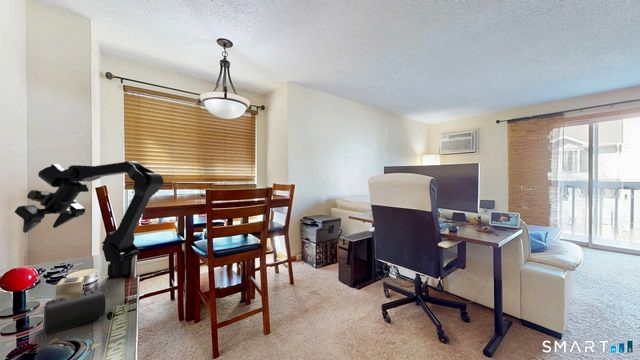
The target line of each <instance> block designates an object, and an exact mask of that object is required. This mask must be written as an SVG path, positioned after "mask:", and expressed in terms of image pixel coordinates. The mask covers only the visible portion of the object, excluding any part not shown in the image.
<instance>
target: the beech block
mask: <svg viewBox="0 0 640 360" xmlns="http://www.w3.org/2000/svg"><path fill="white" fill-rule="evenodd" d="M76 277H77V278H76ZM83 284H84V277H80V276H75V277H74V276H71V277H64V278H61V279H60V280H59V282H58V283H57V284H56V286H55V299H59V298H64V297H65V299H66V300H70V299H74V298H78V297H82V296H81V293H84V292H85V289H84V290H83ZM84 285H85V284H84Z"/></svg>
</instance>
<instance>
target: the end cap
mask: <svg viewBox="0 0 640 360" xmlns="http://www.w3.org/2000/svg"><path fill="white" fill-rule="evenodd" d="M106 302H107V300H106V295H105V292H104V291H98V290H96V289H95V290H94V289H93V290H90V291H84V293H81V297H78V298H74V299H70V300H66V299H65V297H64V298H59V299H56V298H55V299H53V298H52V300H48V301H47V302H46V303H45V306H44V307H43V308H44V309H43V310H44V311H43V323H42V325H43V326H42V333H43V334H44V335H46V336H49V335H52V334H54V333H58V332H61V331H64V330H67V329H71V328H74V327H77V326H81V325H83V324H87V323H91V322H94V321H97V320H100V318H102V317H103V316H104V315H105V313H106V309H107V307H106V304H107V303H106Z"/></svg>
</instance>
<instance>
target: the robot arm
mask: <svg viewBox="0 0 640 360" xmlns="http://www.w3.org/2000/svg"><path fill="white" fill-rule="evenodd" d="M121 174H127V176H128V177H129V179H131V181H133V182H134V183H133V193H134V194H133V197H132V198H131V201H130V202H129V204H128V207H127V208H126V211H125V212H124V215H123V216H122V219H121V221H120V223H119V225H118V227H117V229H116V230H114V231H111V232H108V233H106V235H105V238H104V240H103V241H102V242H101V244H102V248H101V250H102V251H103V254H104V259H105V261H106V263H108V265H107V280H112V279H114V280H115V279H116V280H117V279H125V278H130V277H132V275H133V274H134V273H135V269H134V266H135V265H134V264H135V256H138V255H139V253H140V249H139V248H138V246H136V244H135V232H134V231H135V230H136V227H137V225H138V224H139V222H140V219H141V217H142V216H143V213H144V211H145V209H146V208H147V205H148V203H149V202H150V199H151V198H152V197H153V196H154V195H155V194H156V193H158V192H159V190H160V189H161V188H162V186H163V184H164V182H165V181H164V180H165V179H164V178H163V176H162V175H161V174H160V173H156V172H154V171H153V170H151V169H149V168H147V167H146V166H143V165H142V163H139V162H138V161H133V160H126V161H122V162H115V163H108V164H102V165H101V164H99V165H79V164H78V165H77V164H76V165H75V164H73V165H69V166H68V168H66V169H64V168H63V167H62V166H61V165H60V164H56V163H55V164H54V163H52V164H51V165H50V166H48V167H45V168H43V169H41V170H39V172H38V174H37V176H38V178H40V179H41V180H43V181H44V182H45V183H46V184H47V185H49V186H50V187H52V188H57V189H56V190H55V191H54V192H52V191H50V190H49V191H48V190H38V189H30V191H29V192H28V193H27V196H26V198H27V199H29V200H31V201H34V202H39V205H40V206H41V207H44V208H39V207H37V206H36V205H35V204H32V205H31V204H29V205H20V206H17V208H16V209H15V211H14V213H15V214H16V215H17V216H18V217H20V219H22V220H23V227H22V232H23V233H24V234H27V233H29V232H30V231H31V230H33V229H34V228H35V227H36V226H37V225H38V226H39V224H40V223H41V222H42V220H43V219H45V217H46V216H47V215H57V214H59V215H58V217H56V219H55V221H54V223H53V225H52V228H54V229H57V228H58V227H60V226H63V225H64V224H65V223H68V222H70V221H72V220H74V219H76V218H78V217H80V216H83V215H84V214H86V208H85V207H84V206H83V205H82V204H80V203H78V201H77V200H76V198H77V197H78V196H79V194H80V193H88V192H89V187H88V185H87V184H85V183H84V184H83V183H81V182H93V181H96V180H98V179H101V178H103V177H107V176H115V175H121Z"/></svg>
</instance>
